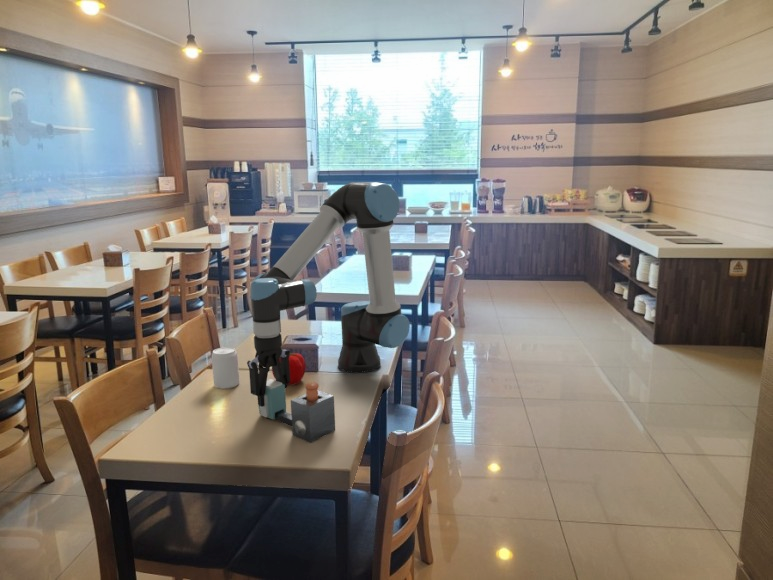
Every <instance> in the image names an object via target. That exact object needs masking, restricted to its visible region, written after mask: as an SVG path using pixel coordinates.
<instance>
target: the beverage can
mask: <svg viewBox="0 0 773 580" xmlns="http://www.w3.org/2000/svg"><path fill="white" fill-rule="evenodd" d="M238 358H239V357H238V352H237V350H236V348H235V347H231V346H224V347H218V348H215V349H213V350H212V353H211V364H212V365H211V366H212V376H213V378H212V379H213V385H214V387H215V388H216V389H217V388H218V389H221V390H227V389H232V388H235V387H236V386H238V385H239V384H240V382H241V381H240V371H239V359H238Z"/></svg>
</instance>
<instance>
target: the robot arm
mask: <svg viewBox="0 0 773 580" xmlns="http://www.w3.org/2000/svg"><path fill="white" fill-rule="evenodd" d="M400 207H401V206H400V199H399V195H398V194H397V191H396V190H395V189H394V188H393V187H392V186H391V185H390V184H388V183H384V182H383V183H382V182H378V181H375V182H374V181H372V182H371V181H370V182H369V181H368V182H357V181H356V182H355V181H354V182H349V183H346V184H344V185H343V186H341V187H339V188H337V190H335V191H334V192H333V193H332V194H331V195H330V196H329V197H328V198H327V199H326V200H325V201H324V203H322V204H321V205H320V207H319V213H318V214H317V215H316V217H315V218H314V219H312V221H311V222H310V223H309V224H308V226H307V227H306V228H305V229H304V230H303V232H302V233H301V234H300V235H299V236H298V237H297V239H295V241H294V242H293V243H292V244H291V246H289V247H288V249H287V250H286V251H285V252H284V254H282V256H281V257H280V258H279V259H278V260H277V261H276V263H275V264H274V265H273V266H272V267H271V268H270V269H269V271H268V272H267V273H261V274H259V275H257V276H255V278H254V279H253V280H252V281H251V283H250V297H249V298H250V303H251V315H252V316H251V317H252V326H253V327H252V329H253V334H254V337H253V345H254V346H253V347H254V349H255V355H254V356H255V357H254V358H253V359H252V360H247V362H246V364H247V367H248V371H249V386H250V387H249V388H250V390H249V391H250V394H251V395H254V396H257V405H258V407H259V406H260V412H261V414H260V415H261V416H263V417H265V418H268V417H269V410H268V396H267V395H266V394H265V390H266V383H267V380H268V374H269V372H270V370H272V369H273V372H274V375H273V377H274V376H275V378H274V380H275V381H278V382H281V383H282V384H284V385H285V389H287V388H288V385H290V384H289V383H290V367H289V355H290V353H291V350H287V349H285V348H282V345H283V341H282V338H283V337H282V334H281V333H282V322H281V311H287V310H290V309H295V308H296V309H297V308H300V307H305V306H308V305H312V304H313V303H315V301H316V299H317V295H318V292H317V287H316V285H315V283H314V282H313V281H312V280H311V279H309V278H305V279H304V278H303V279H302V278H300V279H298V280H296V278H297V277H298V276H299V275H300V273H301V272H302V271H303V270H304V268H306V267H307V265H308V264H309V262H311V260H312V259H313V258H314V257H315V256H316V254H318V252H319V251H320V250H321V248H323V246H324V245H325V243H327V242H328V240H329V239H330V238H331V237H332V236H333V234H334V233H335V232H336V231H337V230H338V229H339V228H343V227H344V226H345V225H347V223H348V222H349V221H351V220H356V227H357V229H358V230H359V231H360V232H361V233H362V238H363V239H362V240H363V241H362V242H363V250H364V259H365V261H364V262H365V269H366V270H365V271H366V277H367V278H366V279H367V289H368V290H367V291H368V298H369V299H368V300H359V301H353V302H348V303H345V304H344V305H342V307H341V312H340V321H341V322H340V323H341V340H342V341H341V342H342V343H341V344H342V345H341V349H340V353H339V356H338V359H337V364H338V365H337V366H338V368H339V369H340V370H341V371H343V372H347V371H348V373H356V372H359V373H368V372H372V371H375V370H377V369H379V368H380V367H381V363H382V362H381V357H380V355H379V353H378V349H377V345H378V346H381V347H382V348H389V349H395V348H398V347H400V346H402V344H403V343H404V342H405V340H406V339H407V337H408V335H409V333H410V328H411V327H410V326H411V325H410V320H409V318H408V317H407V316H406V315H404V314H402V307H401V303H399V302H398V301H397V300H396V289H395V280H394V279H395V278H394V269H393V268H394V265H393V258H392V257H393V256H392V245H391V235H390V234H391V233H390V229H391V228H392V227H393V226H394V220H395V218H397V216H398V212H400ZM279 359H280V360H279ZM270 368H271V369H270Z"/></svg>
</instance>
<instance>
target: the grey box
mask: <svg viewBox="0 0 773 580" xmlns="http://www.w3.org/2000/svg"><path fill="white" fill-rule="evenodd" d="M335 411H336V410H335V396H334V394H330V393H328V392H324V391H322V390H319V389H318V400H316V401H314V402H310V401H307V394H306V393H304V394H301V395H300V396H297V397H295V398H293V399H290V414H291V415H292V426H291V429H292V430H291V431H292V436H294V437H296V438H297V439H298V438H299V439H301V440H303V441H305V442H307V443H310V444H312V443H314V442H316V441H317V440H319V439H322V438H323V437H325V436H327V435H328V434H331V433H333V432H334V431H336V416H335V413H336V412H335Z"/></svg>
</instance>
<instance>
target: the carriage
mask: <svg viewBox="0 0 773 580" xmlns="http://www.w3.org/2000/svg"><path fill="white" fill-rule="evenodd" d="M265 394H266V395H267V396H268V410H269V417H267V418H269V419H271V420H275V412H277V411H280V410H282V411H284V412H287V401H286V388H285V385H284V384H282V383H281V382H278V381H276V379H272V378H269V379H267V383H266V390H265ZM258 409H259V412H258V414H259V415H261V412H260V406H259V405H258Z"/></svg>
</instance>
